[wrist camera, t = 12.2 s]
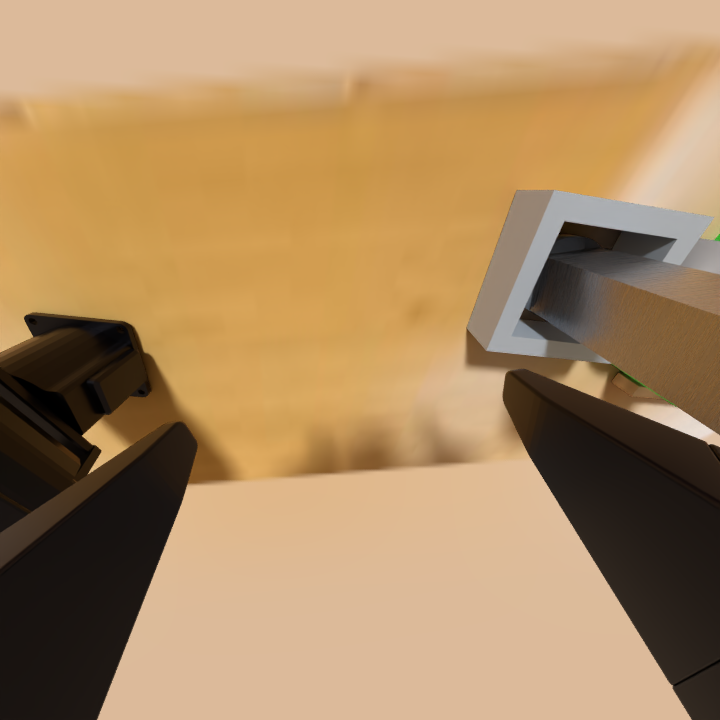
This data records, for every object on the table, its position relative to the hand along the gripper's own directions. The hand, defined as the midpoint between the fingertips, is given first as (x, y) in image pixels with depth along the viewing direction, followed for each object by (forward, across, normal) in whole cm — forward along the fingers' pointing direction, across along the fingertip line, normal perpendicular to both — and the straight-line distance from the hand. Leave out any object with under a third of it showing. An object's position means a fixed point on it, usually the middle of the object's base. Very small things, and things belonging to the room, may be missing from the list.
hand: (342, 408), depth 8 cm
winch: (+13, -16, +3) cm, 21 cm away
